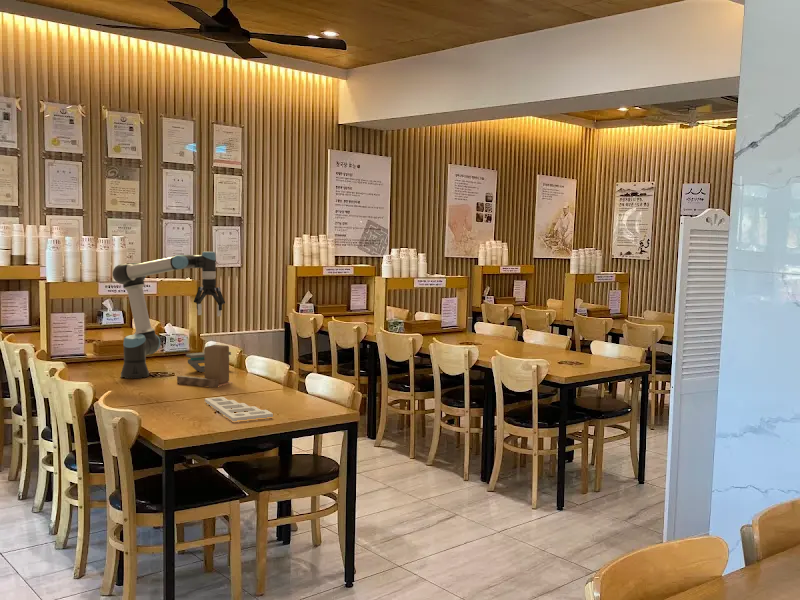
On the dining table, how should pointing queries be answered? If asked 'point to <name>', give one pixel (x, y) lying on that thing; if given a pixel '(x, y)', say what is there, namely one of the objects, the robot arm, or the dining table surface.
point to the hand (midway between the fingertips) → (209, 315)
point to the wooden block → (217, 362)
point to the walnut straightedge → (197, 381)
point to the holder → (236, 409)
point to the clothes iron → (197, 361)
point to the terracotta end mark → (225, 383)
